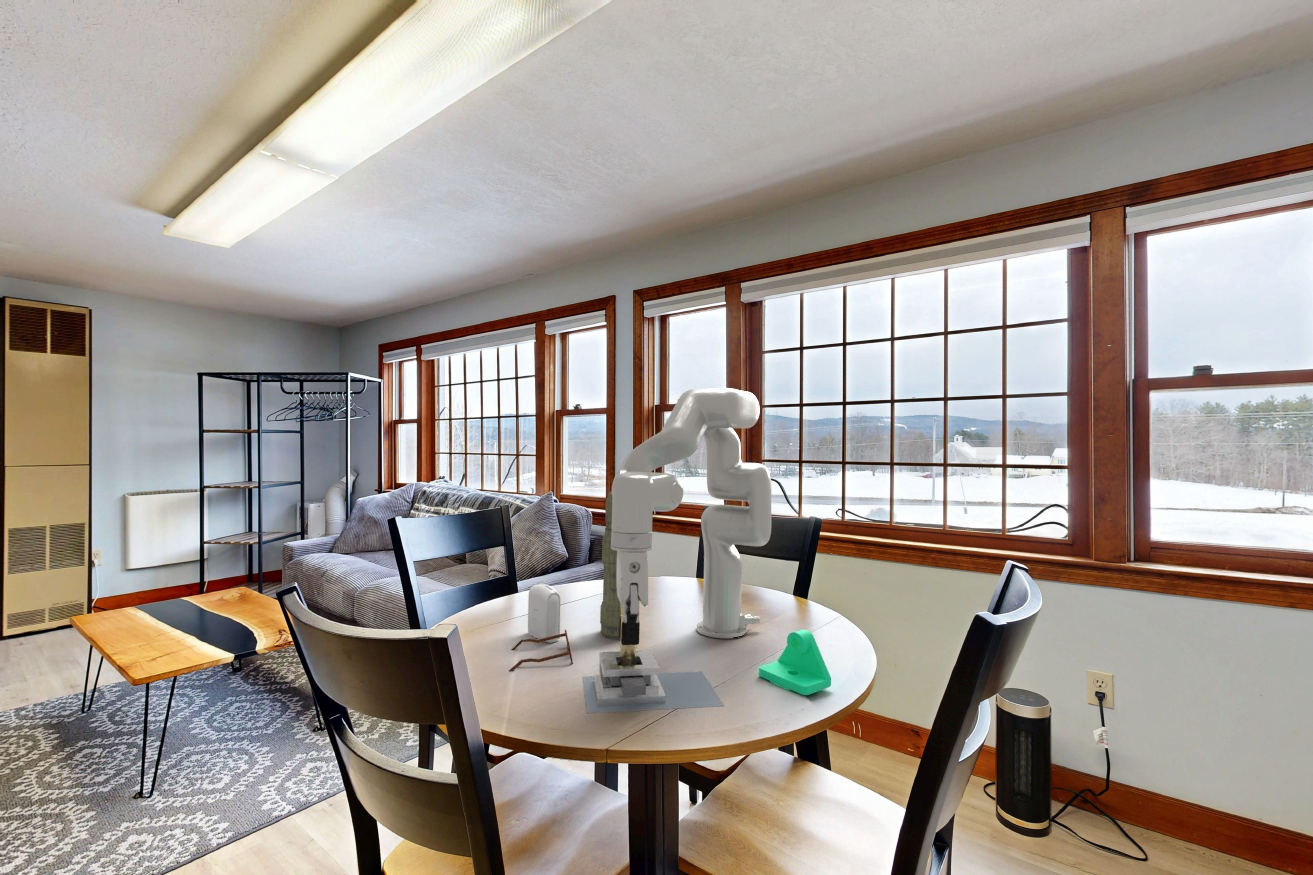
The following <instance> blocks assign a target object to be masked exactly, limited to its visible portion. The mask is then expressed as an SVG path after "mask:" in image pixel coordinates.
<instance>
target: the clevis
mask: <svg viewBox="0 0 1313 875" xmlns="http://www.w3.org/2000/svg"><path fill="white" fill-rule="evenodd" d="M598 658H599V660H598V662H599V664H598V666H599V667H598V674H593V676H594V687H595V693H596V699H597V705H598V706H610V705H629V704H649V703H666V695H665V693H664V690H663V688H662V686H661V684H660V682H659V679H658V677H657V675H659V673H660V666H659V664H658V662H657V660H656V658H655V656H654V654H653V651H652V650H647V649H645V650H637V655H636V665H626V666H620V650H619V651H618V650H617V651H600V652H599V657H598Z"/></svg>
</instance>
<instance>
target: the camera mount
mask: <svg viewBox="0 0 1313 875" xmlns="http://www.w3.org/2000/svg"><path fill="white" fill-rule="evenodd" d="M819 648H820V647H819V646H818V643H817V640H816V639H815V637H814V634H813V633H812V632H811V631H809V630H808V629H799V630H796V631H792V632H790V633H788V635H787V637H786V646H785V648H784V650H783V651H782V652H781V654H780V656H779V658H778V659H777V660H776V661H773V662H770V663H766V664H762V665H760V666H759V667H758V676H759V677H760V678H763V679H765V680H768V681H770V684H773V685H775V686H778V687H780V688H782V689H785V690H787V691H792V692H795V693H798V694H800V695H803V696H809V695H811V694H815V693H816V692H817V693H818V692H820V691H823V690H825V689H828V688H831V687H832V677H831V675H830V673H829V670H828V667H827V664H826V663H825V661H824V660H825V659H824V658H823V656H822V653H821V651H820V649H819ZM830 686H831V687H830Z"/></svg>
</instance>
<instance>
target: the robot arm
mask: <svg viewBox="0 0 1313 875" xmlns="http://www.w3.org/2000/svg"><path fill="white" fill-rule="evenodd" d="M759 416H760V404H759V400H758V399H757V397H756V395H755V394H753V393H752V392H750V391H746V390H745V391H744V390H739V389H736V388H729V387H714V388H713V387H711V388H709V387H708V388H692V389H688V390H685V391H684V392H683V393H682V394H681V395H680V397H679V398H678V400H677V401H676V403H675V405H674V407H673V409H672V411H671V413H670V415H669V416H668V418H667V420H666V422H665V423H664V425H663V427H662V429H661V431H659V432H658V433H656V434H655V435H653V436H651V437H649V438H648V439H646V440H644V441H643V442H642V443H641V444H639V445H637V446H636V447H635V448H633V449H632V450H631V451H630V452H629V453H628V454H627V455H626V457H625V458H624V460H622V462H621V464H620V466H619V468H618V470H617V472H616V473H615V476H614V478H613V481H612V485H611V492H612V532H611V549H612V550H615V551H617V573H616V581H617V596H618V599H619V601H620V603H621V606H623V607H624V616H623V622H622V633H621V616H620V618H619V637H620V638H621V639H620V644H621V643H622V645H637V646H638V645H639V644H640V626H641V625H640V624H641V623H640V604H641V605H642V606H643V607H647V606H648V605H649V566H648V565H649V564H648V561H649V560H648V551H652V548H653V547H652V546H653V545H652V544H653V512H665V513H666V512H670V511H673V510H675V509H676V508H678V507H679V505H681V502H683V501H682V500H683V497H684V487H683V483H682V481H681V480H680V479H679V478H678V477H677V476H676V475H674V474H672V473H667V472H653V471H654V470H656V469H659V468H660V467H664V466H667V465H671V464H673V463H676V462H680V461H682V460H684V459H687V458H689V457H691V456H693V455H694V454H695V453H696V451H697V449H698V446H699V445H700V443H701V440H702V438H703V439H704V441H705V446H706V486H707V492H708V494H709V495H710V497H712V498H714V499H716V500H724V501H735V502H736V501H738V502H747V503H748V506H743V505H735V504H734V505H733V504H732V505H731V504H713V505H710V506H708V507H707V508H706V509H704V510H703V512H702V513H701V518H700V525H701V526H700V527H701V533H702V534H701V535H702V540H703V553H704V554H703V559H704V561H703V594H702V595H703V596H702V599H703V601H702V603H703V604H702V606H703V607H702V608H703V609H702V621H700V622H698V623H697V624H696V631H697V632H698V633H699V634H701V635H702V636H706V637H709V638H713V639H714V638H716V639H734V638H733V637H737V636H741V635H743V634H745V633H746V632H747V633H748V625H760V623H761V618H760V616H759V615H755V616H752V615H751V614H744V613H743V612H742V589H743V586H742V582H743V580H742V579H743V576H742V575H743V561H742V557H741V554H740V553H739V551H738V549H737V548H736V546H735V545H741V546H749V547H762V546H765V545H766V544H767V543H768V542H769V541H770V540H771V539H770V538H771V535H772V478H771V474H770V471H769V469H768V468H767V467H766V466H765V465H764V464H762V463H757V462H743V461H742V458H741V457H742V456H741V455H742V452H741V441H740V438H739V436H738V434H737V433H736V431H735V430H734V429H750V428H752V427H754V426H755V425H756V424H757V422H758V419H759ZM626 602H630V605H627V603H626ZM627 609H630V610H628V612H627ZM620 615H621V608H620ZM747 633H746V634H747ZM746 634H745V635H746Z"/></svg>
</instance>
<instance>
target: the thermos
mask: <svg viewBox="0 0 1313 875" xmlns="http://www.w3.org/2000/svg"><path fill="white" fill-rule="evenodd" d="M604 519H605V520H604V522H605V528H604V529H605V530H604V535H603V538H602V540H601V541H602V543H601V545H602V546H601V547H602V548H601V549H602V550H601V561H602V564H603V576H602V577H603V581H602V584H603V585H602V587H603V588H602V590H603V591H602V592H603V593H602V602H601V605H600V612H599V613H600V616H599V617H600V618H599V619H600V620H599V621H600V622H599V623H600V635H601V636H602V637H603V638H606V639H611V640H621V638H620V637H619V618H620V616H621V615H620V608H621V603H620V601H619V599H618V596H617V581H616V573H617V551H615V550H612V549H611V532H612V491H609V492H608V494H607V498H606V501H605V518H604Z"/></svg>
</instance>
